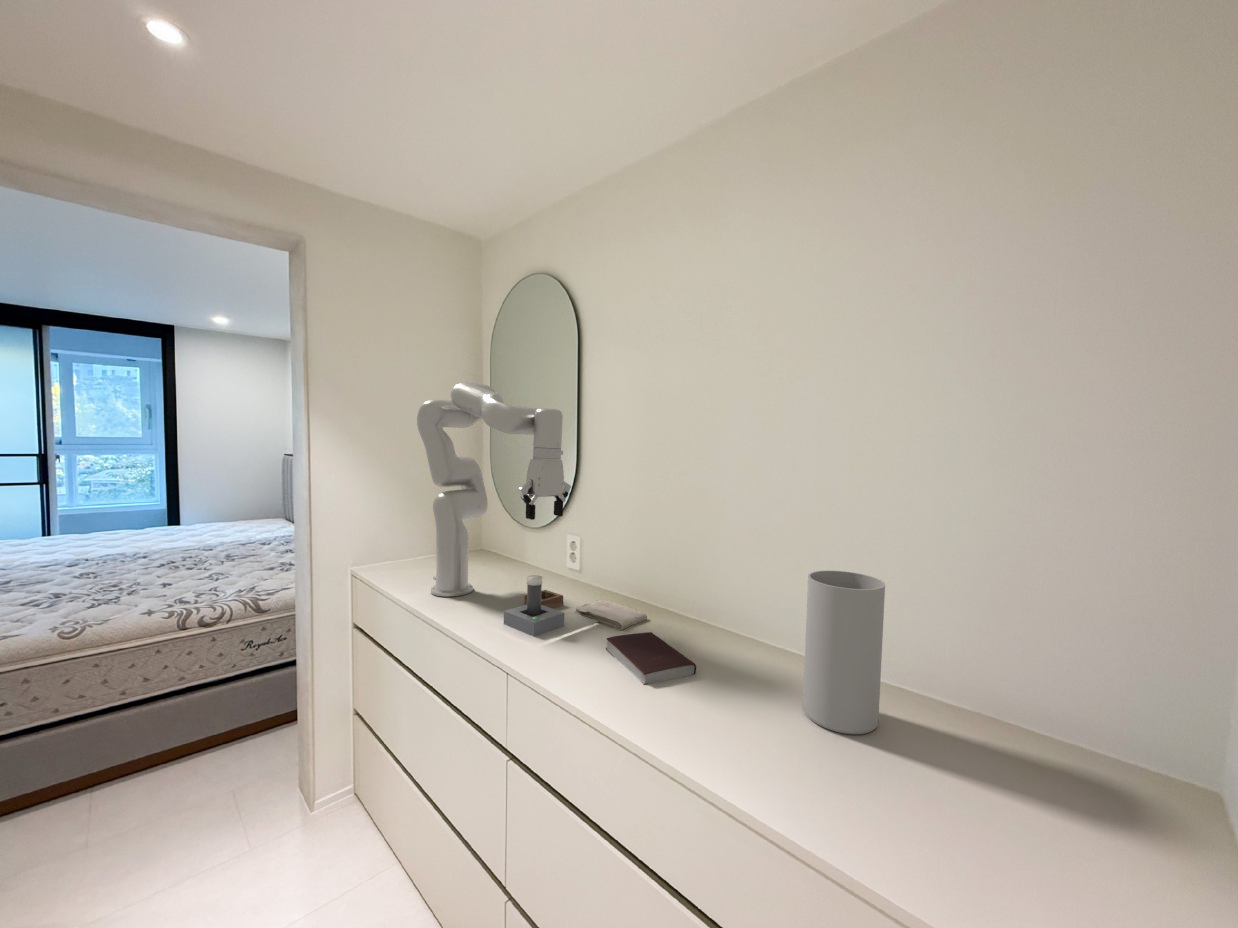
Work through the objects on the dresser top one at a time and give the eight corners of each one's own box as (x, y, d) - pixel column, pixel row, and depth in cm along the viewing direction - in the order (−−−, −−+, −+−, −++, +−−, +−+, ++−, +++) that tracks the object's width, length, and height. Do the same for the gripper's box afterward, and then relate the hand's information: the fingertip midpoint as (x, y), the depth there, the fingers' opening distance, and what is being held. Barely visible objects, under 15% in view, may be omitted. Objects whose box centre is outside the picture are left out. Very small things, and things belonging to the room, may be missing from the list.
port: (503, 626, 134) (503, 609, 134) (533, 616, 141) (534, 600, 141) (533, 638, 126) (533, 620, 126) (563, 627, 133) (564, 611, 133)
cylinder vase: (849, 697, 101) (855, 569, 99) (894, 733, 88) (901, 588, 87) (789, 701, 98) (795, 571, 97) (827, 739, 86) (833, 590, 85)
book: (652, 642, 126) (652, 629, 126) (696, 676, 109) (697, 661, 109) (605, 651, 121) (605, 637, 121) (643, 687, 104) (644, 671, 103)
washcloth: (600, 606, 153) (600, 596, 153) (649, 621, 141) (649, 610, 141) (571, 616, 144) (571, 605, 144) (621, 633, 132) (621, 621, 132)
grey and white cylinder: (523, 623, 133) (523, 577, 133) (534, 619, 136) (535, 574, 136) (532, 627, 131) (533, 580, 130) (544, 623, 134) (545, 577, 133)
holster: (524, 607, 149) (524, 595, 149) (545, 601, 155) (545, 589, 155) (542, 613, 144) (542, 601, 144) (563, 607, 150) (563, 595, 149)
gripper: (562, 453, 149) (559, 512, 150) (512, 453, 136) (509, 518, 137) (579, 455, 144) (577, 516, 145) (530, 455, 131) (527, 522, 132)
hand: (544, 517), depth 141 cm, fingers open, 9 cm apart
